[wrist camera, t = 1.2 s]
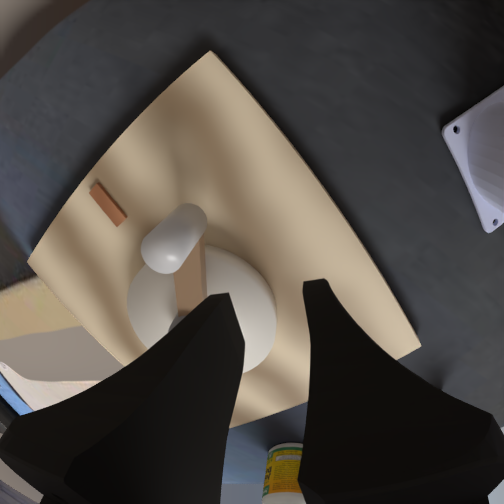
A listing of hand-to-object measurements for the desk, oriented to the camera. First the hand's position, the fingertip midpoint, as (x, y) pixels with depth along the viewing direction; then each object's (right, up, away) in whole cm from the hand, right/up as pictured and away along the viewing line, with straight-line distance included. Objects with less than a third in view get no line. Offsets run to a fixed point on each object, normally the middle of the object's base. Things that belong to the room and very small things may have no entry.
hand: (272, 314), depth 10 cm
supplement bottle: (+4, -21, +21) cm, 30 cm away
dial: (-4, -1, +11) cm, 12 cm away
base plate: (-4, -1, +13) cm, 13 cm away
